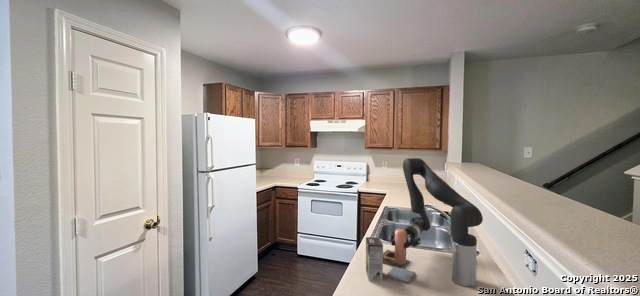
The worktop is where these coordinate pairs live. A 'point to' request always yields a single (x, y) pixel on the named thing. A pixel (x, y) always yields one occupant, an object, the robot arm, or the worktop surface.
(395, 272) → the mat
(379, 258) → the coffee box
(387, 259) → the socket block
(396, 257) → the plug
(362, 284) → the worktop surface
